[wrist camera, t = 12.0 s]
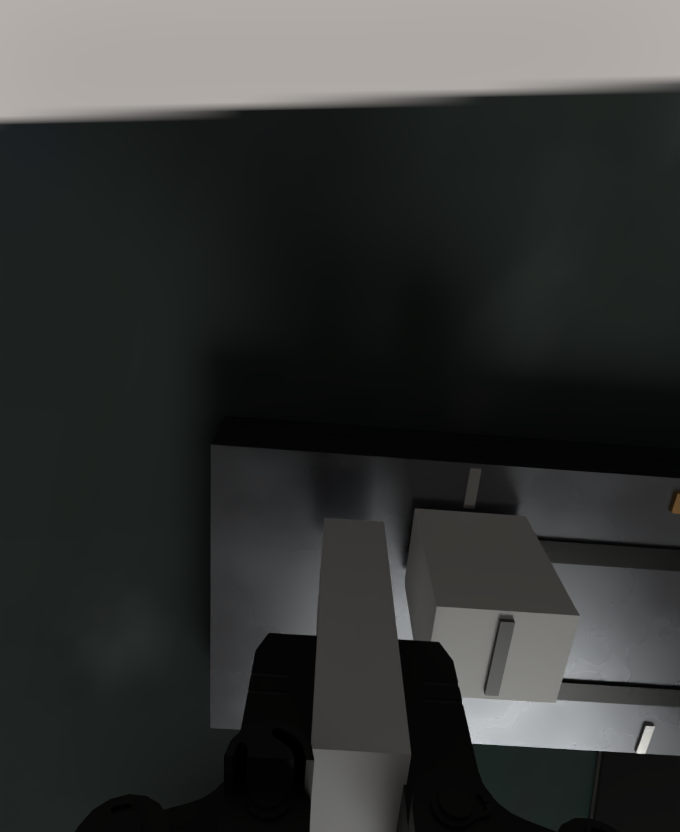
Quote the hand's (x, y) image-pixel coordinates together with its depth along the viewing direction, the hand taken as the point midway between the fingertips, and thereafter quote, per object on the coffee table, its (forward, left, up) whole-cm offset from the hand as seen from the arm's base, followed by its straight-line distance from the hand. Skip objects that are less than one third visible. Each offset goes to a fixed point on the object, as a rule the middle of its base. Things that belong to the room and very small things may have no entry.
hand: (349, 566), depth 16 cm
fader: (+3, 0, -1) cm, 3 cm away
